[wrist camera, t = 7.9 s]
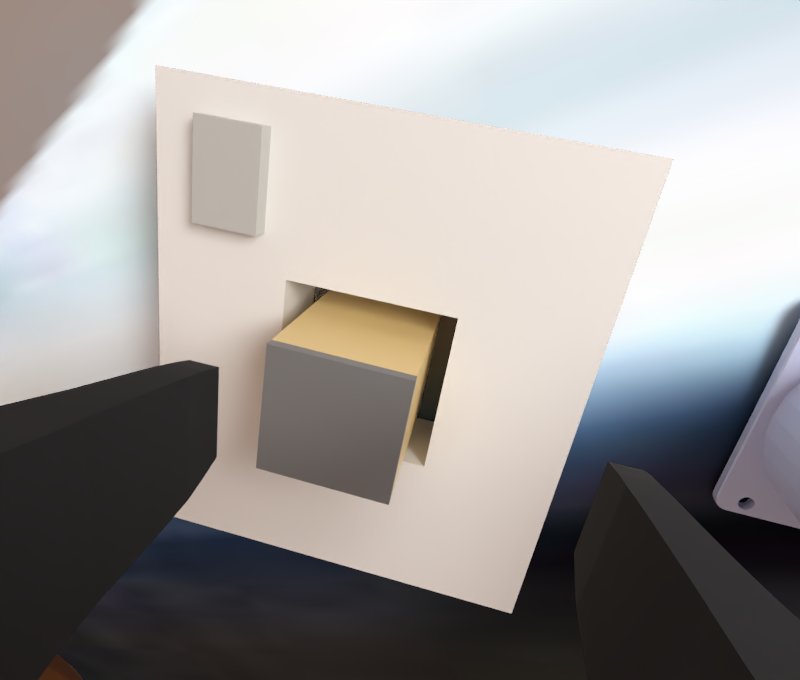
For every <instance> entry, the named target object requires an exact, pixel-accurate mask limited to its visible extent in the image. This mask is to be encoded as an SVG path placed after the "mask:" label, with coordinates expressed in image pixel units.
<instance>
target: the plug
mask: <svg viewBox="0 0 800 680" xmlns="http://www.w3.org/2000/svg"><path fill="white" fill-rule="evenodd" d="M440 318H441V315H440V314H435V313H431V312H426V311H422V310H418V309H413V308H409V307H404V306H400V305H395V304H391V303H386V302H382V301H378V300H373V299H369V298H364V297H360V296H355V295H351V294H347V293H342V292H338V291H333V290H329V291H328V292H327V293H326V294H324V295H323V296H322V297H321V298H320V299H319V300H317V301H316V302H315V303H314V304H313V305H312V306H310V307H309V308H308V309H307V310H306V311H304V312H303V313H302V314H301V315H300V316H299V317H297V318H296V319H295V320H294V321H293V322H292V323H290V324H289V325H288V326H287V327H286V328H285V329H283V330H282V331H281V332H280V333H279V334H278V335H276V336H275V337H274V338H273V339H272V340H270V341H269V342H268V343H267V346H266V357H265V369H264V380H263V392H262V404H261V415H260V427H259V438H258V450H257V461H256V468H258V469H261V470H265V471H269V472H272V473H276V474H279V475H283V476H286V477H290V478H294V479H297V480H301V481H304V482H308V483H311V484H315V485H319V486H322V487H326V488H329V489H333V490H336V491H340V492H344V493H347V494H351V495H354V496H358V497H361V498H365V499H369V500H372V501H376V502H379V503H383V504H386V505H389V503H390V499H391V496H392V493H393V490H394V487H395V484H396V481H397V478H398V474H399V471H400V468H401V465H402V462H403V459H404V456H405V453H406V450H407V446H408V443H409V440H410V437H411V434H412V431H413V428H414V425H415V421H416V418H417V415H418V412H419V409H420V406H421V402H422V397H423V393H424V388H425V384H426V380H427V375H428V371H429V366H430V362H431V357H432V353H433V349H434V344H435V340H436V335H437V331H438V327H439V322H440Z"/></svg>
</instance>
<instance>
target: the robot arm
mask: <svg viewBox="0 0 800 680" xmlns="http://www.w3.org/2000/svg"><path fill="white" fill-rule="evenodd" d="M218 386H219V367H216V366H212V365H208V364H204V363H200V362H196V361H192V360H186V361H179V362H174V363H169V364H164V365H160V366H156V367H152V368H148V369H144V370H140V371H137V372H133V373H129V374H125V375H122V376H118V377H114V378H111V379H107V380H103V381H99V382H96V383H92V384H88V385H84V386H81V387H77V388H73V389H69V390H65V391H61V392H57V393H53V394H48V395H44V396H40V397H36V398H32V399H28V400H23V401H19V402H15V403H11V404H7V405H2V406H0V680H38V679H39V678H40V677H41V675H42V674H43V673H44V671H45V670H46V668H47V667H48V666H49V664H50V663H51V662H52V660H53V659H54V658H55V656H56V655H57V654H58V652H59V651H60V650H61V648H62V647H63V646H64V644H65V643H66V641H67V640H68V639H69V637H70V636H71V635H72V633H73V632H74V631H75V629H76V628H77V627H78V625H79V624H80V623H81V622H82V621H83V619H84V618H85V617H86V616H87V615H88V613H89V612H90V611H91V610H92V609H93V607H94V606H95V605H96V604H97V602H98V601H99V600H100V599H101V598H102V597H103V596H104V595H105V593H106V592H107V591H108V590H109V589H110V588H111V587H112V586H113V584H114V583H115V582H116V581H117V580H118V579H119V578H120V577H121V575H122V574H123V573H124V572H125V571H126V570H127V569H128V568H129V567H130V565H131V564H132V563H133V562H134V561H135V560H136V559H137V558H138V556H139V555H140V554H141V553H142V552H143V551H144V550H145V549H146V547H147V546H148V545H149V544H150V543H151V542H152V541H153V540H154V539H155V537H156V536H157V535H158V534H159V533H160V532H161V531H162V529H163V528H164V527H165V526H166V525H167V524H168V523H169V521H170V520H171V519H172V518H173V517H174V516H175V515H176V514H177V512H178V511H179V510H180V509H181V508H182V507H183V505H184V504H185V503H186V502H187V501H188V499H189V498H190V496H191V495H192V494H193V492H194V491H195V489H196V488H197V486H198V485H199V484H200V482H201V481H202V479H203V478H204V476H205V474H206V473H207V471H208V470H209V468H210V467H211V465H212V464H213V462H214V461H215V459H216V457H217V426H218ZM712 495H713V498H714V500H715V502H716V504H717V505H718V506H719V507H720V508H722V509H724V510H727V511H731V512H735V513H739V514H743V515H747V516H751V517H755V518H759V519H763V520H767V521H771V522H775V523H779V524H783V525H787V526H791V527H795V528H798V529H800V320H799V321H798V323H797V325H796V327H795V329H794V331H793V333H792V335H791V337H790V339H789V341H788V343H787V345H786V347H785V349H784V351H783V353H782V355H781V357H780V359H779V361H778V363H777V365H776V367H775V369H774V371H773V373H772V375H771V377H770V379H769V381H768V383H767V385H766V387H765V389H764V391H763V393H762V395H761V397H760V399H759V401H758V403H757V405H756V407H755V409H754V411H753V413H752V415H751V417H750V419H749V421H748V423H747V425H746V427H745V429H744V431H743V432H742V434H741V436H740V438H739V440H738V442H737V444H736V446H735V448H734V450H733V452H732V454H731V456H730V458H729V460H728V462H727V464H726V466H725V468H724V470H723V472H722V474H721V476H720V478H719V480H718V482H717V484H716V486H715V488H714V490H713V494H712ZM745 497H748V498H749V499H748V500H747V501H746V502H743V503H742V502H739V501H740V499H742V498H745ZM574 573H575V596H576V611H577V617H578V623H579V630H580V636H581V641H582V647H583V653H584V659H585V665H586V671H587V677H588V680H800V620H799V619H798V618H797V617H796V616H795V615H793V614H792V613H791V612H790V611H789V610H788V609H787V608H786V607H785V606H784V605H783V604H781V603H780V602H779V601H778V600H777V599H776V598H775V597H774V596H773V595H772V594H771V593H769V592H768V591H767V590H766V589H765V588H764V587H763V586H762V585H761V584H760V583H759V582H758V581H757V580H756V579H755V578H754V577H753V576H752V575H751V574H750V573H748V572H747V571H746V570H745V569H744V568H743V567H742V566H741V565H740V564H739V563H738V562H737V561H736V560H735V559H734V558H733V557H732V556H731V555H730V554H729V553H728V552H727V551H726V550H725V549H724V548H723V547H722V546H721V545H720V544H719V543H718V542H717V541H716V540H715V539H714V538H713V537H712V536H711V535H710V534H709V533H708V532H707V531H706V530H705V529H704V528H703V527H702V526H701V525H700V524H699V523H698V522H697V521H696V520H695V519H694V518H693V517H692V516H691V515H690V513H689V512H688V511H687V510H686V509H685V508H684V507H683V506H682V505H681V504H680V503H679V502H678V501H677V500H676V499H675V498H674V497H673V496H672V495H671V494H670V493H669V492H668V491H667V490H666V489H665V488H664V487H663V486H662V485H661V484H660V483H659V482H657V481H656V480H655V479H654V478H653V477H652V476H651V475H650V474H648V473H647V472H646V471H645V470H641V469H636V468H632V467H628V466H624V465H620V464H616V463H612V462H608V464H607V467H606V469H605V472H604V474H603V477H602V480H601V482H600V485H599V488H598V490H597V493H596V495H595V498H594V501H593V503H592V506H591V509H590V511H589V514H588V516H587V519H586V522H585V524H584V527H583V529H582V532H581V535H580V537H579V540H578V543H577V545H576V548H575V550H574Z"/></svg>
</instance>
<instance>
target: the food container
mask: <svg viewBox="0 0 800 680" xmlns="http://www.w3.org/2000/svg"><path fill="white" fill-rule="evenodd" d="M38 680H83V679H82V678H81V676H80V675H79V674H78V672H77V671H76V670H75V669H74V668H73V667H72V666H71V665H70V664H69V663H67V662H66V661H65V660H64V659H63V658H61V657H60V656H59V655H56V656H55V658H54V659H53V660H52V662H51V663H50V664H49V666H48V667H47V668H46V670H45V671H44V673H43V674H42V675H41V677H40V678H39V679H38Z"/></svg>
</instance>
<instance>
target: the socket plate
mask: <svg viewBox="0 0 800 680" xmlns="http://www.w3.org/2000/svg"><path fill="white" fill-rule="evenodd" d="M156 133H157V203H158V272H159V342H160V365H164V364H169V363H174V362H179V361H186V360H192V361H196V362H200V363H204V364H208V365H212V366H216V367H219V386H218V426H217V457H216V459H215V461H214V462H213V464H212V465H211V467H210V468H209V470H208V471H207V473H206V474H205V476H204V478H203V479H202V481H201V482H200V484H199V485H198V486H197V488H196V489H195V491H194V492H193V494H192V495H191V496H190V498H189V499H188V501H187V502H186V503H185V504H184V505H183V507H182V508H181V509H180V510H179V511H178V512H177V514H176V515H175V516H174V517H176V518H180V519H183V520H187V521H190V522H194V523H197V524H201V525H204V526H208V527H211V528H215V529H218V530H222V531H225V532H229V533H232V534H236V535H239V536H243V537H246V538H250V539H253V540H257V541H260V542H264V543H267V544H271V545H274V546H278V547H281V548H284V549H288V550H291V551H295V552H298V553H302V554H305V555H309V556H312V557H316V558H319V559H323V560H326V561H330V562H333V563H337V564H340V565H344V566H347V567H351V568H354V569H358V570H361V571H365V572H368V573H372V574H375V575H379V576H382V577H385V578H389V579H392V580H396V581H399V582H403V583H406V584H410V585H413V586H417V587H420V588H424V589H427V590H431V591H434V592H438V593H441V594H445V595H448V596H452V597H455V598H459V599H462V600H466V601H469V602H473V603H476V604H480V605H483V606H486V607H490V608H493V609H497V610H500V611H504V612H507V613H511V614H512V611H513V608H514V605H515V602H516V600H517V597H518V594H519V591H520V588H521V586H522V583H523V580H524V577H525V574H526V572H527V569H528V566H529V563H530V560H531V557H532V555H533V552H534V549H535V546H536V543H537V541H538V538H539V535H540V532H541V529H542V527H543V524H544V521H545V518H546V515H547V513H548V510H549V507H550V504H551V501H552V498H553V496H554V493H555V490H556V487H557V484H558V482H559V479H560V476H561V473H562V470H563V468H564V465H565V462H566V459H567V456H568V454H569V451H570V448H571V445H572V442H573V439H574V437H575V434H576V431H577V428H578V425H579V423H580V420H581V417H582V414H583V411H584V409H585V406H586V403H587V400H588V397H589V395H590V392H591V389H592V386H593V383H594V381H595V378H596V375H597V372H598V369H599V366H600V364H601V361H602V358H603V355H604V352H605V350H606V347H607V344H608V341H609V338H610V336H611V333H612V330H613V327H614V324H615V322H616V319H617V316H618V313H619V310H620V307H621V305H622V302H623V299H624V296H625V293H626V291H627V288H628V285H629V282H630V279H631V277H632V274H633V271H634V268H635V265H636V263H637V260H638V257H639V254H640V251H641V248H642V246H643V243H644V240H645V237H646V234H647V232H648V229H649V226H650V223H651V220H652V218H653V215H654V212H655V209H656V206H657V204H658V201H659V198H660V195H661V192H662V189H663V187H664V184H665V181H666V178H667V175H668V173H669V170H670V167H671V164H672V161H673V159H670V158H664V157H659V156H653V155H648V154H642V153H637V152H631V151H626V150H620V149H615V148H609V147H604V146H598V145H593V144H587V143H582V142H576V141H571V140H565V139H560V138H554V137H549V136H543V135H538V134H532V133H526V132H521V131H515V130H510V129H504V128H499V127H493V126H488V125H482V124H477V123H471V122H466V121H460V120H455V119H449V118H444V117H438V116H433V115H427V114H422V113H416V112H411V111H405V110H400V109H394V108H389V107H383V106H378V105H372V104H367V103H361V102H356V101H350V100H345V99H339V98H334V97H328V96H322V95H317V94H311V93H306V92H300V91H295V90H289V89H284V88H278V87H273V86H267V85H262V84H256V83H251V82H245V81H240V80H234V79H229V78H223V77H218V76H212V75H207V74H201V73H196V72H190V71H185V70H179V69H174V68H168V67H163V66H157V65H156ZM315 287H320V288H324V289H329V290H333V291H338V292H342V293H347V294H351V295H355V296H360V297H364V298H369V299H373V300H378V301H382V302H386V303H391V304H395V305H400V306H404V307H409V308H413V309H418V310H422V311H426V312H431V313H435V314H440V315H444V316H449V317H453V318H457V319H458V320H457V325H456V329H455V333H454V338H453V342H452V347H451V351H450V355H449V360H448V364H447V369H446V373H445V377H444V382H443V386H442V391H441V395H440V399H439V404H438V408H437V413H436V417H435V421H434V422H433V421H429V420H425V419H421V418H416V421H415V425H414V428H413V431H412V434H411V437H410V440H409V443H408V446H407V450H406V453H405V456H404V459H403V462H402V465H401V468H400V471H399V474H398V478H397V481H396V484H395V487H394V490H393V493H392V496H391V499H390V503H389V505H386V504H383V503H379V502H376V501H372V500H369V499H365V498H361V497H358V496H354V495H351V494H347V493H344V492H340V491H336V490H333V489H329V488H326V487H322V486H319V485H315V484H311V483H308V482H304V481H301V480H297V479H294V478H290V477H286V476H283V475H279V474H276V473H272V472H269V471H265V470H261V469H258V468H256V461H257V450H258V438H259V427H260V415H261V404H262V392H263V380H264V369H265V357H266V346H267V343H268V342H269V341H270V340H272V339H273V338H274V337H275V336H276V335H278V334H279V333H280V332H281V331H282V330H283V329H285V328H286V327H287V326H288V325H289V324H290V323H292V322H293V321H294V320H295V319H296V318H297V317H299V316H300V315H301V314H302V313H303V312H304V311H306V310H307V309H308V308H309V307H310V306H312V305H313V304H314V295H315Z"/></svg>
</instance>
